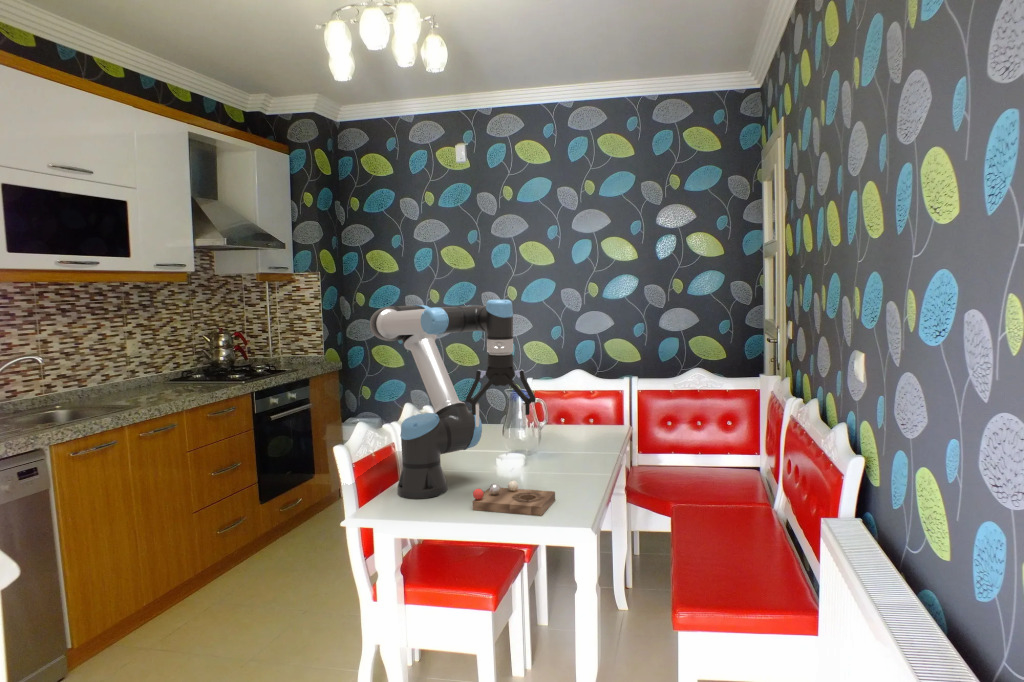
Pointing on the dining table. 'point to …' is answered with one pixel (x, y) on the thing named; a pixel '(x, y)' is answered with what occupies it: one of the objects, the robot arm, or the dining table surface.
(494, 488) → the steel ball
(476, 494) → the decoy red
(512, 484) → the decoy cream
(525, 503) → the board
